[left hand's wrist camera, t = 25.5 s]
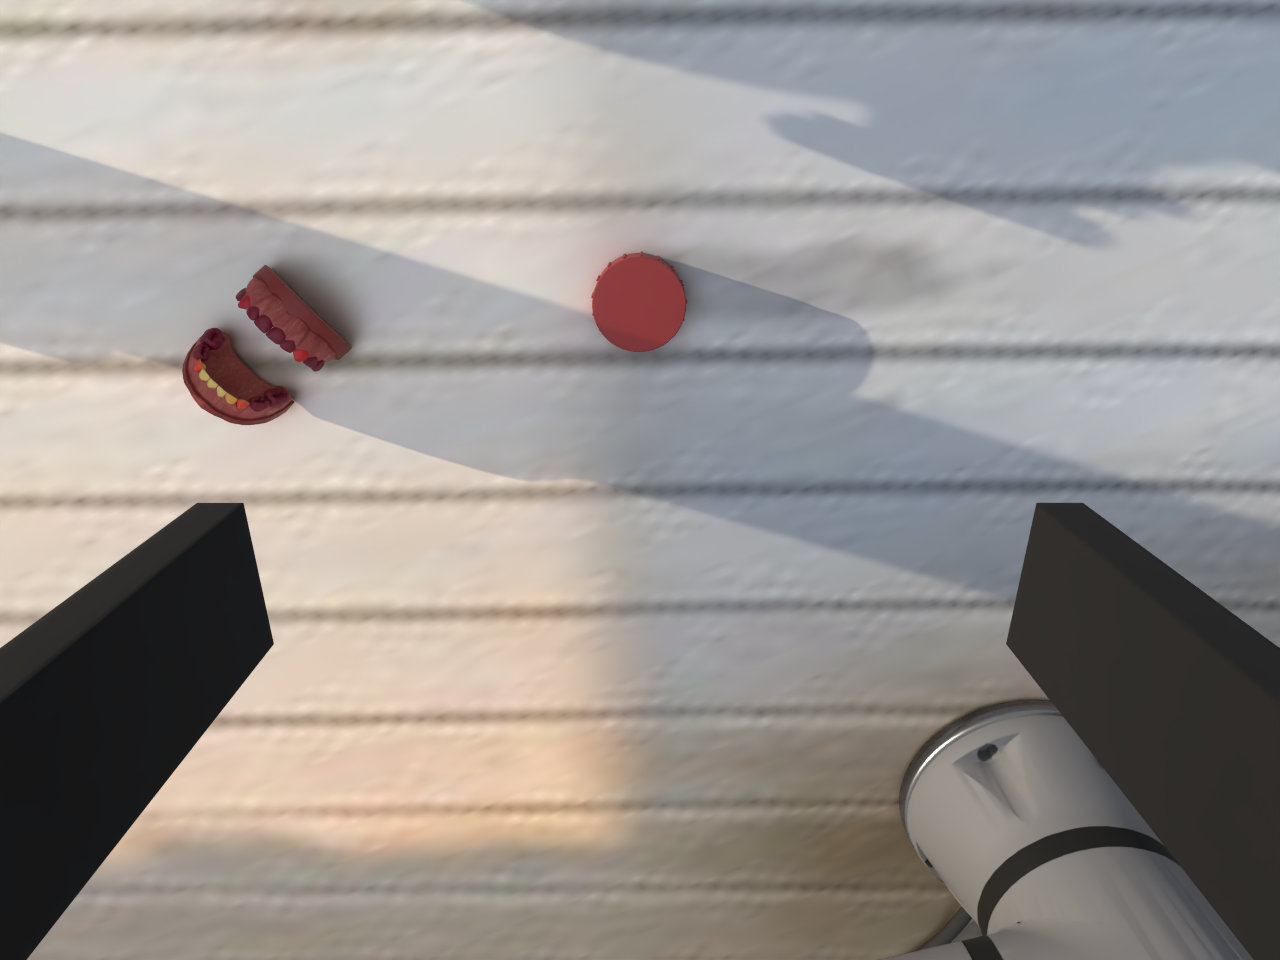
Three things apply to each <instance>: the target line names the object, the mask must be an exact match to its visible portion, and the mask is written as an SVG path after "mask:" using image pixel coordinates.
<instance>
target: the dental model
mask: <svg viewBox="0 0 1280 960" xmlns="http://www.w3.org/2000/svg"><path fill="white" fill-rule="evenodd" d="M236 299H237V301H240V302H239V304H238V307H239V308H242V309H247V315H248V317H249V318H250V319H251V320H255V321H254V323H255V325H256V326H257V327H258V328H259V329H260V330H261V331H262V332H263V333H266V332H267V331H268V332H267V333H266V336H267V337H268V338H269V339H271V340H272V341H273V342H274V343H276V344H280V347H281V348H282V349H283V350H285V351H287V352H289V353H291V352H293V355H294V358H295V360H296V361H298V362H301V361H304V363H305V364H306V365H307V366H309V367H310V368H311V369H312V370H313V371H319V370H320V369H321V368H322V367H323V365H324V363H325V362H327V361H329V360H332V359H340V358H341V357H342V356H343V355H345V354H346V353H347V352H348V351H349V350H350V349H351V346H350V345H349V344H348V343H347V342H346V341H345V340H344V339H343V338H342V337H341V336H340V335H339V334H338V333H337V332H336V331H335V330H334V329H333V328H332V327H331V326H330V325H329V324H328V323H327V322H326V321H325V320H324V319H323V318H322V317H320V316H319V315H318V314H317V313H316V312H315V311H314V310H313V309H312V308H311V307H310V306H309V305H308V304H307V303H306V302H305V301H304V300H303V299H302V298H301V297H300V296H299V295H298V294H297V293H296V292H295V291H294V290H293V289H292V288H291V287H289V286H288V285H287V284H286V283H285V282H284V281H283V280H282V279H281V278H280V277H279V276H278V275H277V274H276V273H275V272H274V271H273V270H272V269H271V268H269V267H268V266H267V265H265V266H263V267H262V268H261V269H260V270H259V271H258V272H257V273H256V274H254V276H253V279H252V280H251V281H250V282H249V284H248V286H247V288H245V289H242V290H241V291H240V292H239V293H238V294H237V295H236ZM272 327H274V328H272ZM271 328H272V329H271ZM284 340H285V341H284ZM182 372H183V379H184V383H185V385H186V386H187V388H188V390H189V391H190V393H191V395H192V397H193V398H194V400H195V401H196V402H197V404H198V405H199V406H200V407H201V408H202V409H204V410H206V411H207V412H209V413H211V414H213V415H214V416H217V417H219V418H222V419H224V420H226V421H228V422H230V423H235V424H240V425H255V424H262V423H266V422H269V421H271V420H273V419H275V418H277V417H279V416H280V415H282V414H283V413H285V412H286V411H287V410H288V409H289V407H290V406H291V405H292V404H293V403H294V401H293V400H292V399H293V398H292V397H291V396H290V394H289V393H288V392H287V391H286V389H285V388H284V387H283V386H271V385H269V384H267V383H265V382H264V381H262V380H261V379H260V378H259V377H258V376H256V375H255V374H254V373H253V372H252V371H251V370H250V369H248V368H247V367H246V366H245V365H244V364H243V363H242V362H241V361H240V360H239V359H238V357H237V356H236V355H235V353H234V352H233V350H232V348H231V344H230V339H229V337H228V336H227V335H226V334H224V333H222V332H221V331H220V330H219V329H218V328H211V329H208V330H206V331H205V333H204V334H203V335H202V336H201V337H200V338H199V339H198V341H197V342H196V343H195V344H194V345H193V346H192V348H191V349H190V351H189V352H188V354H187V356H186V359H185V361H184V364H183V370H182Z"/></svg>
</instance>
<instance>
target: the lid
mask: <svg viewBox="0 0 1280 960" xmlns="http://www.w3.org/2000/svg"><path fill="white" fill-rule="evenodd" d="M597 281H598V282H597V285H596V287H595V290H594V292H593V294H592V297H591V298H593V300H592V308H593V316H594V319H595V321H596V324H597V326H598V328H599V330H600V332H601V333H602V334H603V335H604V336H605V337H606V338H607V339H608V340H609V341H610V342H611V343H613V344H614V345H616V346H617V347H620V348H622V349H625V350H628V351H633V352H645V351H650V350H654V349H656V348H659V347H661V346H663V345H664V344H666V343H667V342H668V341H669V340H671V339H672V338H673V337H674V336H675V335H676V333H677V331H678V330H679V328H680V326H681V324H682V322H683V321H684V316H685V311H686V303H687V300H686V297H685V293H684V290H683V287H682V286H684V285H683V282H682V280H680V279H679V277H678V275H677V274H676V272H675V271H674V267H673V266H670V265H669V264H667V263H666V262H665V261H663V260H662V259H660V256H657V257H656V256H653V255H650V254H645V253H643V252H641V253H634V254H628V255H626V254H624V255H623V256H622V257H620V258H618V259H616V260H615V261H613V262H612V263H611V262H609V264H608V267H607V268H606V269H605V270H604V271H603V273H602V274H601V276H598V278H597Z"/></svg>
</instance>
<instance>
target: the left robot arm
mask: <svg viewBox="0 0 1280 960" xmlns="http://www.w3.org/2000/svg"><path fill="white" fill-rule="evenodd" d="M273 644H274V643H273V638H272V634H271V629H270V624H269V620H268V615H267V610H266V606H265V601H264V596H263V592H262V587H261V582H260V578H259V573H258V568H257V564H256V559H255V555H254V550H253V545H252V541H251V536H250V531H249V527H248V522H247V517H246V513H245V508H244V503H196V504H195V505H194V506H192V507H191V508H190V509H188V510H187V511H186V512H184V513H183V514H182V515H180V516H179V517H177V518H176V519H175V520H173V521H172V522H171V523H169V524H168V525H167V526H165V527H164V528H163V529H161V530H160V531H159V532H157V533H156V534H154V535H153V536H152V537H150V538H149V539H148V540H146V541H145V542H144V543H142V544H141V545H140V546H138V547H137V548H135V549H134V550H133V551H131V552H130V553H129V554H127V555H126V556H125V557H123V558H122V559H121V560H119V561H118V562H116V563H115V564H114V565H112V566H111V567H110V568H108V569H107V570H106V571H104V572H103V573H102V574H100V575H99V576H98V577H96V578H95V579H93V580H92V581H91V582H89V583H88V584H87V585H85V586H84V587H83V588H81V589H80V590H79V591H77V592H76V593H74V594H73V595H72V596H70V597H69V598H68V599H66V600H65V601H64V602H62V603H61V604H60V605H58V606H57V607H55V608H54V609H53V610H51V611H50V612H49V613H47V614H46V615H45V616H43V617H42V618H41V619H39V620H38V621H37V622H35V623H34V624H32V625H31V626H30V627H28V628H27V629H26V630H24V631H23V632H22V633H20V634H19V635H18V636H16V637H15V638H13V639H12V640H11V641H9V642H8V643H7V644H5V645H4V646H3V647H1V648H0V960H27V958H28V957H29V956H30V955H31V953H32V952H33V951H34V949H35V948H36V947H37V946H38V944H39V943H40V942H41V940H42V939H43V938H44V937H45V935H46V934H47V933H48V932H49V930H50V929H51V928H52V926H53V925H54V924H55V923H56V921H57V920H58V919H59V917H60V916H61V915H62V914H63V912H64V911H65V910H66V909H67V907H68V906H69V905H70V903H71V902H72V901H73V900H74V898H75V897H76V896H77V895H78V893H79V892H80V891H81V889H82V888H83V887H84V886H85V884H86V883H87V882H88V880H89V879H90V878H91V877H92V875H93V874H94V873H95V872H96V870H97V869H98V868H99V866H100V865H101V864H102V863H103V861H104V860H105V859H106V857H107V856H108V855H109V854H110V852H111V851H112V850H113V849H114V847H115V846H116V845H117V843H118V842H119V841H120V840H121V838H122V837H123V836H124V834H125V833H126V832H127V831H128V829H129V828H130V827H131V826H132V824H133V823H134V822H135V820H136V819H137V818H138V817H139V815H140V814H141V813H142V812H143V810H144V809H145V808H146V806H147V805H148V804H149V803H150V801H151V800H152V799H153V797H154V796H155V795H156V794H157V792H158V791H159V790H160V789H161V787H162V786H163V785H164V783H165V782H166V781H167V780H168V778H169V777H170V776H171V774H172V773H173V772H174V771H175V769H176V768H177V767H178V766H179V764H180V763H181V762H182V760H183V759H184V758H185V757H186V755H187V754H188V753H189V752H190V750H191V749H192V748H193V746H194V745H195V744H196V743H197V741H198V740H199V739H200V737H201V736H202V735H203V734H204V732H205V731H206V730H207V729H208V727H209V726H210V725H211V723H212V722H213V721H214V720H215V718H216V717H217V716H218V714H219V713H220V712H221V711H222V709H223V708H224V707H225V706H226V704H227V703H228V702H229V700H230V699H231V698H232V697H233V695H234V694H235V693H236V691H237V690H238V689H239V688H240V686H241V685H242V684H243V683H244V681H245V680H246V679H247V677H248V676H249V675H250V674H251V672H252V671H253V670H254V669H255V667H256V666H257V665H258V663H259V662H260V661H261V660H262V658H263V657H264V656H265V654H266V653H267V652H268V651H269V649H270V648H271V647H272V646H273ZM1006 644H1007V646H1008V647H1009V648H1010V649H1011V651H1012V652H1013V653H1014V654H1015V656H1016V657H1017V658H1018V660H1019V661H1020V662H1021V663H1022V665H1023V666H1024V667H1025V669H1026V670H1027V671H1028V672H1029V674H1030V675H1031V676H1032V677H1033V679H1034V680H1035V681H1036V683H1037V684H1038V685H1039V686H1040V688H1041V689H1042V690H1043V691H1044V693H1045V694H1046V695H1047V697H1048V698H1049V699H1050V700H1051V701H1045V700H1022V701H1013V702H1007V703H1002V704H997V705H993V706H990V707H986V708H984V709H981V710H978V711H975V712H973V713H971V714H968V715H966V716H964V717H962V718H960V719H958V720H957V721H955V722H953V723H952V724H950V725H948V726H947V727H945V728H944V729H943V730H941V731H940V732H939V733H937V734H936V735H935V736H934V737H933V738H932V739H930V740H929V741H928V742H927V743H926V744H925V745H924V747H923V748H922V749H921V750H920V751H919V752H918V754H917V755H916V756H915V758H914V759H913V761H912V762H911V764H910V766H909V768H908V770H907V772H906V774H905V776H904V779H903V782H902V786H901V790H900V798H899V805H900V814H901V818H902V821H903V824H904V827H905V829H906V832H907V834H908V837H909V839H910V841H911V844H912V846H913V848H914V849H915V851H916V853H917V854H918V855H919V857H920V859H921V860H922V862H923V863H924V864H925V865H926V867H927V868H928V869H929V870H930V871H931V872H932V873H933V874H934V875H935V876H936V877H937V878H938V879H939V880H940V881H942V882H943V883H945V884H946V886H947V887H948V889H949V891H950V892H951V893H952V895H953V896H954V897H955V899H956V900H957V901H958V902H959V904H960V905H961V906H962V907H961V908H960V909H959V910H958V912H957V913H956V914H955V915H954V917H953V918H952V919H951V920H950V921H949V922H948V924H947V925H946V926H945V927H944V928H943V929H942V930H941V931H940V932H939V933H938V934H936V935H935V936H934V937H933V938H932V939H931V940H929V941H928V942H927V943H926V944H924V945H923V946H922V947H920V948H919V949H918V950H916V951H915V952H910V953H906V954H902V955H897V956H893V957H889V958H884V959H879V960H1280V648H1279V647H1277V646H1276V645H1275V644H1273V643H1272V642H1271V641H1269V640H1268V639H1267V638H1265V637H1264V636H1262V635H1261V634H1260V633H1258V632H1257V631H1256V630H1254V629H1253V628H1252V627H1250V626H1249V625H1248V624H1246V623H1245V622H1243V621H1242V620H1241V619H1239V618H1238V617H1237V616H1235V615H1234V614H1233V613H1231V612H1230V611H1229V610H1227V609H1226V608H1225V607H1223V606H1222V605H1220V604H1219V603H1218V602H1216V601H1215V600H1214V599H1212V598H1211V597H1210V596H1208V595H1207V594H1206V593H1204V592H1203V591H1201V590H1200V589H1199V588H1197V587H1196V586H1195V585H1193V584H1192V583H1191V582H1189V581H1188V580H1187V579H1185V578H1184V577H1182V576H1181V575H1180V574H1178V573H1177V572H1176V571H1174V570H1173V569H1172V568H1170V567H1169V566H1168V565H1166V564H1165V563H1164V562H1162V561H1161V560H1159V559H1158V558H1157V557H1155V556H1154V555H1153V554H1151V553H1150V552H1149V551H1147V550H1146V549H1145V548H1143V547H1142V546H1140V545H1139V544H1138V543H1136V542H1135V541H1134V540H1132V539H1131V538H1130V537H1128V536H1127V535H1126V534H1124V533H1123V532H1121V531H1120V530H1119V529H1117V528H1116V527H1115V526H1113V525H1112V524H1111V523H1109V522H1108V521H1107V520H1105V519H1104V518H1103V517H1101V516H1100V515H1098V514H1097V513H1096V512H1094V511H1093V510H1092V509H1090V508H1089V507H1088V506H1086V505H1085V504H1084V503H1036V508H1035V513H1034V517H1033V522H1032V527H1031V531H1030V536H1029V541H1028V545H1027V550H1026V555H1025V559H1024V564H1023V568H1022V573H1021V578H1020V582H1019V587H1018V592H1017V596H1016V601H1015V606H1014V610H1013V615H1012V620H1011V624H1010V629H1009V634H1008V638H1007V643H1006ZM972 918H973V920H974V921H975V922H976V923H977V924H978V927H979V929H980V931H981V933H982V935H983V936H982V937H977V938H973V939H969V940H964V941H958V942H953V943H950V942H951V941H952V940H953V939H954V938H955V937H956V936H957V935H958V934H959V933H960V932H961V931H962V930H963V929H964V927H965V926H966V925H967V924H968V923H969V921H970V920H971V919H972Z"/></svg>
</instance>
